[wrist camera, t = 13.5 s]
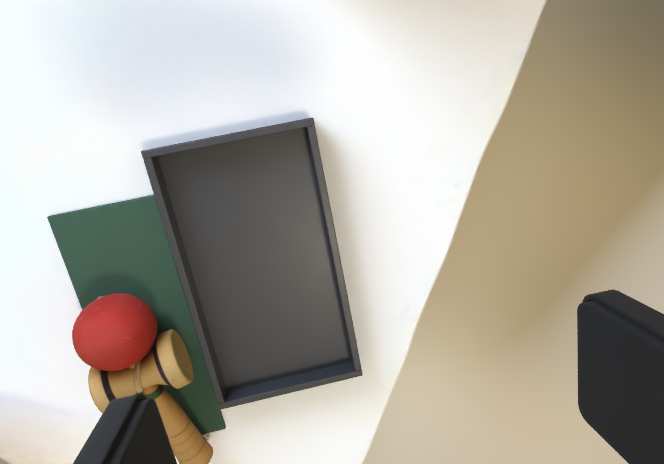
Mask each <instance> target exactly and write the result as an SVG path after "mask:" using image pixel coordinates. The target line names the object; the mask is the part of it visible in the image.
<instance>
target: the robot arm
mask: <svg viewBox="0 0 664 464" xmlns="http://www.w3.org/2000/svg"><path fill="white" fill-rule="evenodd" d="M577 319H578V405H579V409H580V412H581V414H582V416H583V418H584V419H585V420H586V422H587V423H588V424H589V425H590V426H591V427H592V428H593V429H594V430H595V431H596V432H597V433H598V434H599V435H600V436H601V437H602V438H604V440H605V441H606V442H607V443H608V444H609V445H610V446H612V447H613V448H614V449H615V450H616V451H617V452H618V453H619V454H620V455H621V456H622V457H623V458H624V459H625V460H626V461H627V462H628V463H629V464H664V314H662V313H660V312H658V311H656V310H654V309H652V308H650V307H648V306H646V305H644V304H642V303H641V302H639V301H636V300H635V299H632V298H631V297H629V296H627V295H625V294H623V293H621V292H619V291H616V290H608V291H603V292H599V293H594V294H590V295H587V296H585V297H584V299H583V303H581V304H579V306H578V310H577ZM73 464H177V462H176V459H175V456H174V453H173V450H172V447H171V444H170V441H169V439H168V436H167V433H166V430H165V427H164V424H163V421H162V418H161V415H160V412H159V409H158V406H157V404H156V402H155V400H154V399H152V398H151V399H147V398H146V396H145V395H144V394H141V393H140V394H136V395H131V396H127V397H122V398H118V399H114V400H112V401H111V402H110V403H109V404H108V406H107V408H106V409H105V411H104V413H103V414H102V416H101V418H100V419H99V421H98V423H97V424H96V426H95V428H94V430H93V431H92V433H91V435H90V436H89V438H88V440H87V441H86V443H85V445H84V446H83V448H82V450H81V451H80V453H79V455H78V456H77V458H76V460H75V461H74V463H73Z"/></svg>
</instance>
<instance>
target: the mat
mask: <svg viewBox="0 0 664 464" xmlns="http://www.w3.org/2000/svg"><path fill="white" fill-rule="evenodd" d="M47 218H48V220H49V223H50V226H51V228H52V231H53V234H54V236H55V239H56V241H57V244H58V247H59V249H60V252H61V255H62V257H63V260H64V263H65V265H66V268H67V270H68V273H69V276H70V278H71V281H72V284H73V286H74V289H75V292H76V294H77V297H78V299H79V302H80V305H81V307H82V310H83V309H84V308H85V307H87V306H88V305H89V304H90V303H92V302H93V301H95V300H97V299H98V297H100V296H106V295H110V294H116V293H125V294H131V295H134V296H136V297H138V298H140V299H142V300H143V301H144V302H146V303H147V304H148V305H149V306H150V308H151V309H152V311H153V312H154V314H155V317H156V321H157V335H158V334H160V333H163V332H166V331H168V330H171V329H172V330H174V331H176V332H177V333H178V334H179V335H180V337H181V339H182V340H183V342H184V344H185V346H186V349H187V351H188V354H189V357H190V360H191V363H192V368H193V380H192V382H191V383H189V384H187V385H185V386H183V387H181V388H178V389H177V388H174V387H172V386H169V385H163V384H160V385H161V386H162V387H163V388H164V389H165V390H166V391H167V392H168V393H169V394H170V395H171V396H172V397H173V398H174V400H175V401H176V402H177V403H178V404H179V405H180V407H181V408H182V409H183V411H184V412H185V413H186V415H187V416H188V418H189V419H190V420H191V421H192V423H193V424H194V425H195V427H196V428H197V429H198V431H199V432H200V433H201V434H206V433H210V432H214V431H218V430H222V429H225V428H226V426H225V423H224V420H223V416H222V413H221V410H220V409H219V406H218V403H217V399H216V396H215V393H214V389H213V386H212V383H211V380H210V376H209V373H208V370H207V366H206V363H205V360H204V357H203V353H202V350H201V347H200V343H199V340H198V337H197V334H196V330H195V327H194V324H193V320H192V317H191V314H190V311H189V307H188V304H187V301H186V297H185V294H184V291H183V288H182V284H181V281H180V278H179V275H178V271H177V268H176V265H175V261H174V258H173V255H172V252H171V248H170V245H169V242H168V238H167V235H166V232H165V229H164V225H163V222H162V219H161V215H160V212H159V209H158V206H157V202H156V199H155V196H154V195H152V196H147V197H142V198H137V199H132V200H127V201H122V202H117V203H112V204H107V205H103V206H98V207H93V208H88V209H83V210H78V211H73V212H68V213H63V214H58V215H53V216H49V217H47ZM140 393H141V394H144V393H143V391H142V392H140ZM140 393H136V394H140ZM136 394H135V395H136Z"/></svg>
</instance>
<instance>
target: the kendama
mask: <svg viewBox="0 0 664 464" xmlns="http://www.w3.org/2000/svg"><path fill="white" fill-rule="evenodd" d="M72 332H73V333H72V338H73V345H74V348H75V350H76V352H77V354H78V356H79V357H80V358H81V359H82V360H83V361H84V362H85V363H86V364H88V365H90V366H91V369H90V371H89V376H88V383H89V390H90V393H91V396H92V399H93V401H94V403H95V405H96V406H97V408H98V409H99V410H100V411H101V412H102V413H104V411H105V409H106V408H107V406H108V404H109V403H110V402H111V401H112V400H114V399H118V398H122V397H127V396H131V395H135V394H136V393H140V392H142V391H143V393H144V395H145V396H146V398H147V399H151V398H152V399H154V400H155V402H156V404H157V406H158V409H159V412H160V415H161V418H162V421H163V424H164V427H165V430H166V433H167V436H168V439H169V441H170V444H171V447H172V450H173V452H174V454H175V456H176V457H177V460H178V462H179V464H208V463H209V461H210V459H211V457H212V454H213V449H212V447H211V445H210V444H209V443H208V442H207V440H206V439H205V438H204V437H203V435H202V434H201V433H200V432H199V431H198V429H197V428H196V427H195V425H194V424H193V423H192V421H191V420H190V419H189V418H188V416H187V415H186V413H185V412H184V411H183V409H182V408H181V407H180V405H179V404H178V403H177V402H176V401H175V400H174V398H173V397H172V396H171V395H170V394H169V393H168V392H167V391H166V390H165V389H164V388H163V387H162V386H161V385H160V384H163V385H169V386H172V387H174V388H177V389H178V388H181V387H183V386H185V385H187V384H189V383H191V382H192V380H193V368H192V363H191V360H190V357H189V354H188V351H187V349H186V346H185V344H184V342H183V340H182V339H181V337H180V335H179V334H178V333H177V332H176V331H174V330H172V329H171V330H168V331H166V332H163V333H160V334H158V335H157V321H156V317H155V314H154V312H153V311H152V309H151V308H150V306H149V305H148V304H147V303H146V302H144V301H143V300H142V299H140V298H138V297H136V296H134V295H131V294H125V293H116V294H110V295H106V296H100V297H98V299H97V300H95V301H93V302H92V303H90V304H89V305H88V306H87V307H85V308H84V309H83V310H82V312H81V313H80V314H79V316H78V317H77V319H76V321H75V323H74V326H73V331H72Z"/></svg>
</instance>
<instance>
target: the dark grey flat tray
mask: <svg viewBox="0 0 664 464" xmlns="http://www.w3.org/2000/svg"><path fill="white" fill-rule="evenodd" d="M141 153H142V156H143V159H144V163H145V166H146V169H147V173H148V176H149V179H150V183H151V186H152V189H153V192H154V196H155V199H156V202H157V206H158V209H159V212H160V215H161V219H162V222H163V225H164V229H165V232H166V235H167V238H168V242H169V245H170V248H171V252H172V255H173V258H174V261H175V265H176V268H177V271H178V275H179V278H180V281H181V284H182V288H183V291H184V294H185V297H186V301H187V304H188V307H189V311H190V314H191V317H192V320H193V324H194V327H195V330H196V334H197V337H198V340H199V343H200V347H201V350H202V353H203V357H204V360H205V363H206V366H207V370H208V373H209V376H210V380H211V383H212V386H213V389H214V393H215V396H216V399H217V403H218V406H219V409H224V408H229V407H233V406H237V405H241V404H245V403H249V402H254V401H258V400H262V399H266V398H270V397H274V396H278V395H283V394H287V393H291V392H295V391H299V390H303V389H308V388H312V387H316V386H320V385H324V384H328V383H333V382H337V381H341V380H345V379H349V378H353V377H357V376H362V370H361V364H360V359H359V354H358V348H357V343H356V338H355V333H354V328H353V322H352V317H351V312H350V307H349V302H348V296H347V291H346V286H345V281H344V276H343V270H342V265H341V260H340V255H339V250H338V244H337V239H336V234H335V229H334V224H333V218H332V213H331V208H330V203H329V198H328V192H327V187H326V182H325V177H324V172H323V166H322V161H321V156H320V151H319V146H318V140H317V135H316V130H315V126H314V119H313V118H308V119H303V120H298V121H293V122H288V123H283V124H277V125H272V126H267V127H262V128H257V129H252V130H247V131H241V132H236V133H231V134H226V135H221V136H216V137H211V138H205V139H200V140H195V141H190V142H185V143H180V144H174V145H169V146H164V147H159V148H154V149H149V150H144V151H141Z"/></svg>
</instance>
